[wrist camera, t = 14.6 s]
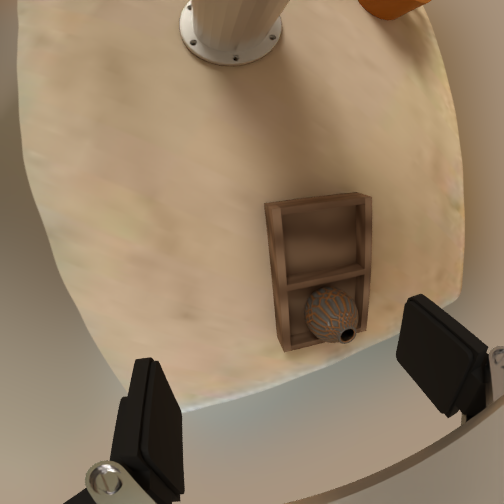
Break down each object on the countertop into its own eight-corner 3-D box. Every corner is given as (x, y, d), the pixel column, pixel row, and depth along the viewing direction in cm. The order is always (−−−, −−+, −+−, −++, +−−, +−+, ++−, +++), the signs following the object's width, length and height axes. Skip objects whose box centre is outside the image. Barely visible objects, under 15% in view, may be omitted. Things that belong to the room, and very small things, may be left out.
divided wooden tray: (264, 203, 36) (271, 209, 32) (356, 192, 38) (371, 196, 34) (277, 336, 43) (284, 352, 39) (354, 317, 45) (366, 330, 41)
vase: (294, 324, 41) (316, 361, 33) (301, 280, 39) (327, 312, 31) (337, 321, 42) (364, 354, 34) (346, 279, 40) (378, 308, 32)
